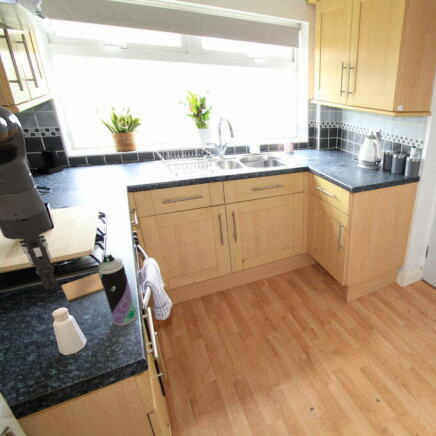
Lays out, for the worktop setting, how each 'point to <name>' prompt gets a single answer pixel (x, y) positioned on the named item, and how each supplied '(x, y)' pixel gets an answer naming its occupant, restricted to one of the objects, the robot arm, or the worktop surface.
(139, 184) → the worktop surface
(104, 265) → the spray can
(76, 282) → the cork mat
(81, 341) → the pepper shaker
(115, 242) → the worktop surface
